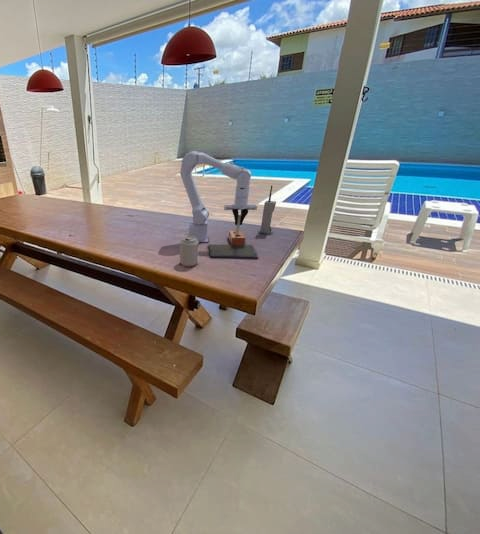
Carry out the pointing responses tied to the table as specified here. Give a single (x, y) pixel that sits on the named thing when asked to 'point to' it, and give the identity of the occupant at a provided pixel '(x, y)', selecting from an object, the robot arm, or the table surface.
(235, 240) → the pen stand
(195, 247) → the can
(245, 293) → the table surface
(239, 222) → the stylus
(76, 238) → the table surface
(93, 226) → the table surface
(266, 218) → the vintage mobile phone
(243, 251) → the tablet
